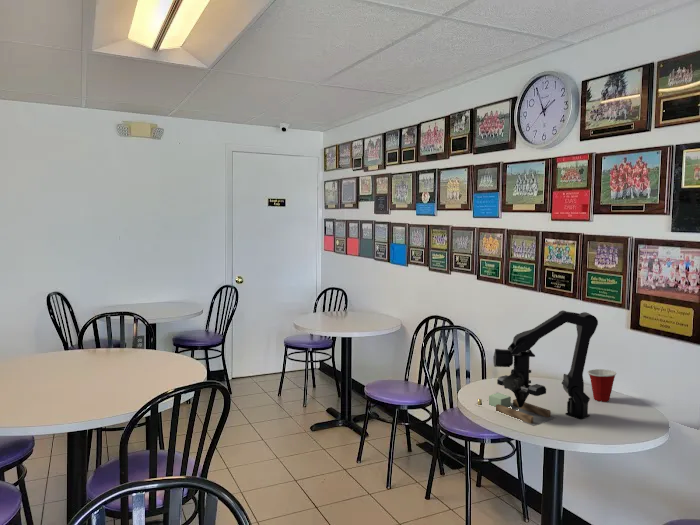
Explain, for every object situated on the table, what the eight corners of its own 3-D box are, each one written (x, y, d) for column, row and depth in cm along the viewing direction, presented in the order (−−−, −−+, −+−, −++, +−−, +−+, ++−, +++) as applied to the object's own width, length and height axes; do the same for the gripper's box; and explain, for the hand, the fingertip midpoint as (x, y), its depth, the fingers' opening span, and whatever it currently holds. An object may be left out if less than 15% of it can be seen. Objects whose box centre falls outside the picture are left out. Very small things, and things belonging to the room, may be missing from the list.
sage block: (510, 406, 213) (510, 396, 213) (500, 409, 210) (501, 399, 209) (498, 402, 218) (498, 392, 218) (488, 405, 215) (488, 395, 214)
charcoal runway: (556, 418, 201) (556, 417, 201) (533, 426, 193) (533, 425, 193) (497, 398, 224) (497, 397, 224) (474, 404, 215) (474, 404, 215)
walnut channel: (550, 417, 202) (550, 410, 202) (530, 423, 195) (530, 417, 195) (515, 405, 215) (515, 399, 215) (495, 411, 208) (495, 405, 208)
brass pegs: (502, 399, 221) (502, 394, 221) (479, 406, 213) (479, 400, 213) (499, 398, 223) (499, 393, 222) (476, 405, 214) (476, 399, 214)
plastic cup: (588, 393, 229) (589, 366, 228) (616, 398, 224) (617, 370, 223) (584, 401, 220) (585, 372, 219) (613, 405, 215) (615, 376, 214)
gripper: (488, 365, 207) (487, 404, 209) (528, 376, 192) (527, 418, 193) (506, 361, 214) (506, 399, 215) (547, 371, 199) (546, 412, 200)
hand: (520, 407), depth 206 cm, fingers closed
